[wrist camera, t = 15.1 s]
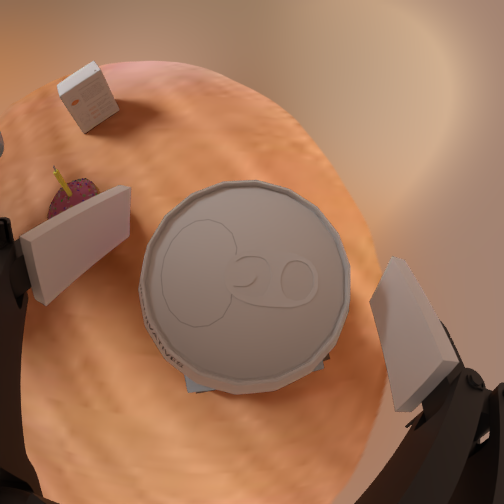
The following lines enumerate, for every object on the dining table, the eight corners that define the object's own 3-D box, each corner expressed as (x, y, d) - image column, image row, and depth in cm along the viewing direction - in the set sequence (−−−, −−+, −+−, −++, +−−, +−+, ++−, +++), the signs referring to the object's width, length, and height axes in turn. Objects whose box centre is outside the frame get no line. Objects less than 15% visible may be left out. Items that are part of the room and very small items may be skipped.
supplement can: (187, 356, 21) (111, 381, 7) (198, 262, 24) (154, 159, 10) (283, 365, 22) (359, 404, 7) (289, 272, 24) (359, 181, 10)
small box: (112, 98, 41) (94, 59, 31) (120, 110, 40) (101, 68, 30) (78, 121, 40) (55, 84, 30) (83, 135, 38) (58, 96, 28)
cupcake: (89, 188, 35) (49, 141, 23) (126, 210, 34) (85, 160, 22) (58, 235, 33) (8, 200, 21) (92, 263, 32) (37, 231, 20)
